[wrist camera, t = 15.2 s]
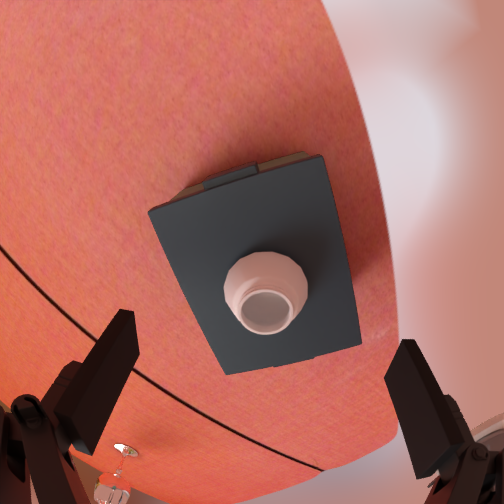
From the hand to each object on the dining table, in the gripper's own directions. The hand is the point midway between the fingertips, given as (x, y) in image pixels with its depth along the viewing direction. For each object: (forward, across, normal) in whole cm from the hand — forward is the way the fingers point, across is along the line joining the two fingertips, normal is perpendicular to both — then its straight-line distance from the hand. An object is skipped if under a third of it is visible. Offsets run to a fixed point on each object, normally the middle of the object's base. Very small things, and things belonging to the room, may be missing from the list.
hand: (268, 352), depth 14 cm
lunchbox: (+13, 0, 0) cm, 13 cm away
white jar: (+6, 0, 0) cm, 6 cm away
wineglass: (+13, -19, -41) cm, 47 cm away
